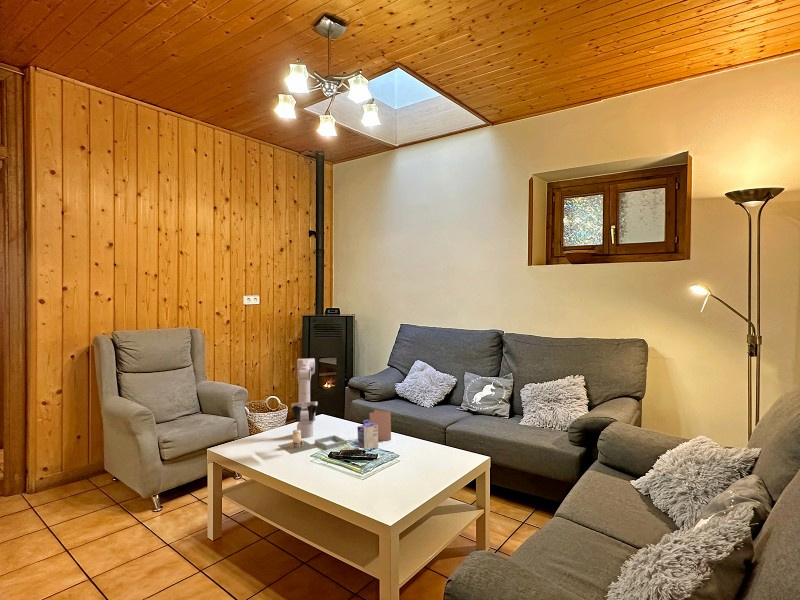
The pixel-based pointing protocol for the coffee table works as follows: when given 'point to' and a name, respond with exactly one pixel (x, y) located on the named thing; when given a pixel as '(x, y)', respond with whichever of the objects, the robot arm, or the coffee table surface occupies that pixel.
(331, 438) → the parts tray
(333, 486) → the coffee table surface
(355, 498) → the coffee table surface
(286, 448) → the flat gray square panel
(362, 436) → the ink cartridge box
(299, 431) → the led light bulb
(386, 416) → the greeting card
